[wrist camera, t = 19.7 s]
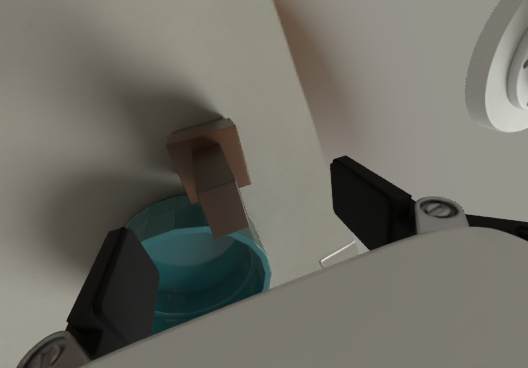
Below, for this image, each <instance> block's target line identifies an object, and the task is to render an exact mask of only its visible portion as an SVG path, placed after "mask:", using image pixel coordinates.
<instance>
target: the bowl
mask: <svg viewBox="0 0 528 368" xmlns="http://www.w3.org/2000/svg"><path fill="white" fill-rule="evenodd" d="M248 220H249V223H250V227H248V228H245V229H242V230H240V231H237V232H234V233H231V234H229V235H226V236H223V237H221V238H218V239H215V238H214V236H213V233H212V231H211V229H210V226H209V224H208V221H207V219H206V217H205V214H204V212H203V210H202V207H201V205H200V202H196V203H193V204H191V202H190V200H189V197H188V195H185V196H177V197H176V196H175V197H172V198H169V199H166V200H163V201H160V202H157V203H154V204H152V205H150V206H149V207H147V208H146V209H144V210H143V211H141V212H140V213H138V214H137V215H135V216H134V217H132V218H131V219H130V220H129V222H128V223H127V224H126V226H125V227H126V228H127V229H132V230H133V232H134V233H135V235H136V236H137V238H138V239H139V241H140V242H141V244H142V246H143V247H144V249H145V250H146V252H147V253H148V255H149V256H150V258H151V260H152V261H153V263H154V264H155V266H156V267H157V269H158V271H159V274H160V280H159V287H158V294H157V301H156V309H155V316H154V323H153V330H152V335H155V334H157V333H160V332H162V331H165V330H167V329H170V328H172V327H175V326H177V325H180V324H182V323H185V322H187V321H190V320H192V319H195V318H198V317H200V316H203V315H205V314H208V313H210V312H213V311H215V310H218V309H220V308H223V307H225V306H228V305H231V304H233V303H236V302H238V301H241V300H243V299H246V298H249V297H251V296H254V295H256V294H259V293H261V292H264V291H267V290H268V289H269V285H270V278H271V268H270V265H269V261H268V258H267V255H266V252H265V250H264V248H263V245H262V243H261V241H260V239H259V236H258V234H257V232H256V229H255V227H254V225H253V223H252V222H251V220H250V219H249V218H248Z"/></svg>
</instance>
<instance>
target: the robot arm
mask: <svg viewBox="0 0 528 368" xmlns="http://www.w3.org/2000/svg"><path fill="white" fill-rule="evenodd" d="M507 91H508V97H509V99H510V101H511V103H512V104H513V105H514V106H515V107H516V108H518V109H522V110H528V29H527V30H526V32H525V34H524V36H523V37H522V39H521V41H520V43H519V45H518V47H517V49H516V52H515V54H514V56H513V59H512V62H511V66H510V69H509V74H508V79H507ZM330 170H331V185H332V199H333V210H334V212H335V214H336V215H337V216H338V217H339V218H340V220H341V221H342V222H343V223H344V224H345V225H346V226H347V227H348V228H349V229H350V230H351V231H352V232H353V233H354V234H355V235H356V236H357V237H358V239H359V240H360V241H361V242H362V243H363V244H364V245H365V246H366V247H367V248H368V249H369V250H370V251H369V252H366V253H363V254H360V255H358V256H355V257H353V258H350V259H347V260H345V261H342V262H339V263H337V264H334V265H332V266H329V267H326V268H324V269H321V270H318V271H316V272H313V273H311V274H308V275H305V276H303V277H300V278H298V279H295V280H292V281H290V282H287V283H285V284H282V285H279V286H277V287H274V288H272V289H269V290H267V291H264V292H261V293H259V294H256V295H254V296H251V297H249V298H246V299H243V300H241V301H238V302H236V303H233V304H231V305H228V306H225V307H223V308H220V309H218V310H215V311H213V312H210V313H208V314H205V315H203V316H200V317H198V318H195V319H192V320H190V321H187V322H185V323H182V324H180V325H177V326H175V327H172V328H170V329H167V330H165V331H162V332H160V333H157V334H155V335H152V330H153V323H154V316H155V309H156V301H157V294H158V287H159V280H160V274H159V271H158V269H157V267H156V266H155V264H154V263H153V261H152V260H151V258H150V256H149V255H148V253H147V252H146V250H145V249H144V247H143V246H142V244H141V242H140V241H139V239H138V238H137V236H136V235H135V233H134V232H133V230H132V229H127V228H126V227H122V228H119V229H116V230H113V231H110V232H109V233H108V234H107V237H106V239H105V241H104V243H103V245H102V247H101V249H100V251H99V253H98V255H97V258H96V260H95V262H94V264H93V266H92V268H91V270H90V272H89V274H88V276H87V279H86V281H85V283H84V285H83V287H82V289H81V291H80V293H79V295H78V297H77V300H76V302H75V304H74V306H73V308H72V310H71V312H70V314H69V316H68V318H67V320H66V321H67V322H68V325H67V327H66V330H65V331H59V332H55V333H53V334H51V335H49V336H47V337H45V338H44V339H43V340H41V341H40V342H39V343H37V344H36V345H35V346H34V347H33V348H32V349H31V350H30V351H28V353H27V354H26V355H25V356H24V357H23V359H22V360H21V361H20V363H19V364H18V366H17V367H16V368H528V222H522V221H515V220H507V219H499V218H491V217H483V216H475V215H467V214H465V213H464V210H463V209H462V207H461V206H460V205H459V204H457V203H456V202H454V201H452V200H450V199H446V198H443V197H424V198H421V199H419V200H418V201H417V202H416V201H414V200H412V199H411V197H412V196H411V195H410V194H408V193H406V192H405V191H403V190H402V189H400V188H398V187H396V186H395V185H393V184H392V183H390V182H389V181H387V180H385V179H384V178H382V177H380V176H378V175H377V174H375V173H374V172H372V171H370V170H369V169H367V168H366V167H364V166H362V165H361V164H359V163H357V162H356V161H354V160H353V159H351V158H349V157H348V156H342V157H339V158H336V159H334V160H333V163H331V164H330Z"/></svg>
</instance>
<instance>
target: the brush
mask: <svg viewBox="0 0 528 368" xmlns="http://www.w3.org/2000/svg"><path fill="white" fill-rule="evenodd" d="M166 148H167V150H168V152H169V155H170V157H171V159H172V161H173V164H174V166H175V168H176V170H177V173H178V175H179V177H180V179H181V182H182V184H183V186H184V188H185V191H186V193H187V195H188V197H189V200H190V202H191V204H193V203H196V202H200V205H201V207H202V210H203V212H204V214H205V217H206V219H207V221H208V224H209V226H210V229H211V231H212V233H213V236H214V238H215V239H218V238H221V237H223V236H226V235H229V234H231V233H234V232H237V231H240V230H242V229H245V228H248V227H250V223H249V220H248V216H247V213H246V210H245V206H244V203H243V200H242V197H241V193H240V190H239V188H241V187H244V186H246V185H249V184H251V181H250V177H249V173H248V170H247V166H246V162H245V158H244V155H243V151H242V147H241V144H240V140H239V136H238V133H237V129H236V125H235V124H234V123H233V122H232V121H231V119H230V118H227V119H225V118H221V119H217V120H213V121H210V122H206V123H203V124H199V125H196V126H192V127H189V128H185V129H182V130H178V131H175V132H172V134H171V135H168V136H167V141H166Z"/></svg>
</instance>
